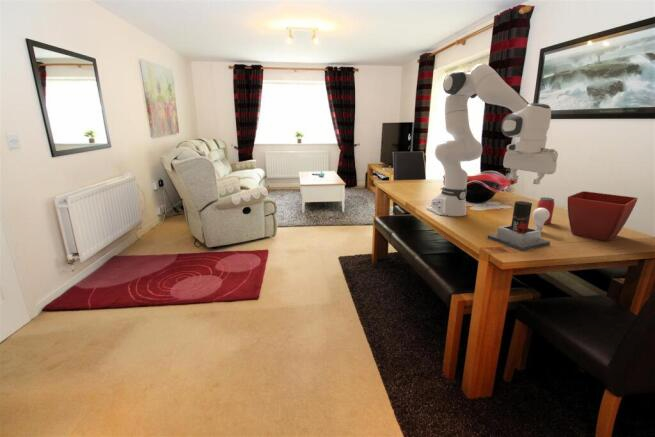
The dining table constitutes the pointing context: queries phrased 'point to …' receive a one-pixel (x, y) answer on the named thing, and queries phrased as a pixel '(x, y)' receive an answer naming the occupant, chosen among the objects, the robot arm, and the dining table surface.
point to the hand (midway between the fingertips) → (525, 181)
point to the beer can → (547, 206)
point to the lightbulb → (540, 217)
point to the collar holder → (519, 238)
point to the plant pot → (598, 214)
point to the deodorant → (521, 216)
